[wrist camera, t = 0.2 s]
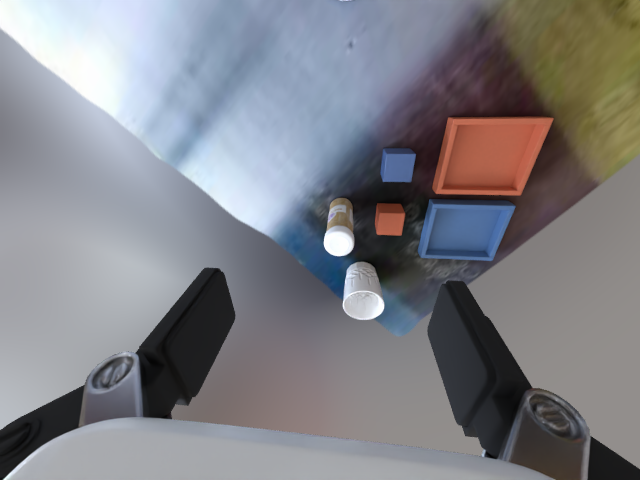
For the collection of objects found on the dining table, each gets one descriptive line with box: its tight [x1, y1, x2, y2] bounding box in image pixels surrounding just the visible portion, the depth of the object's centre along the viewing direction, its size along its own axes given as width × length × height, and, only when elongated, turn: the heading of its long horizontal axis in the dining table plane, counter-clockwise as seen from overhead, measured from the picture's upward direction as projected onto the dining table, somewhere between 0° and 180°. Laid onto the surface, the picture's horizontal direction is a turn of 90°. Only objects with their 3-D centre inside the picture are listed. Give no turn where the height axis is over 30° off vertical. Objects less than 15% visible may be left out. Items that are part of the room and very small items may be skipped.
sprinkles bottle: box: [324, 198, 354, 256], centre depth 42 cm, size 5×5×14 cm
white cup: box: [343, 262, 384, 320], centre depth 52 cm, size 8×8×10 cm
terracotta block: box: [375, 203, 405, 235], centre depth 46 cm, size 4×4×4 cm
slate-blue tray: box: [418, 199, 516, 261], centre depth 47 cm, size 12×14×2 cm
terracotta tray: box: [432, 117, 554, 195], centre depth 40 cm, size 12×14×2 cm
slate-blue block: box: [381, 148, 416, 182], centre depth 41 cm, size 4×4×4 cm
